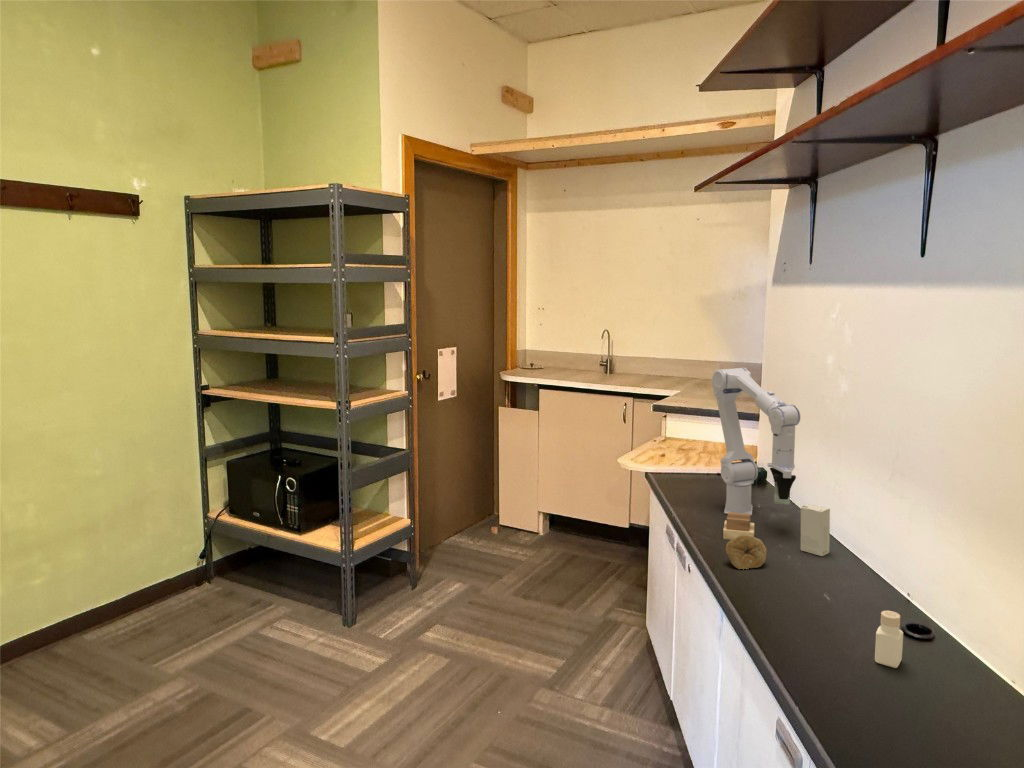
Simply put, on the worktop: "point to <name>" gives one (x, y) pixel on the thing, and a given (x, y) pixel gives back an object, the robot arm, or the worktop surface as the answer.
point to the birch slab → (737, 532)
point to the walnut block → (738, 521)
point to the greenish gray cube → (777, 499)
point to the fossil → (746, 552)
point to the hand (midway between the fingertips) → (781, 496)
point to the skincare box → (815, 529)
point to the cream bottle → (889, 640)
